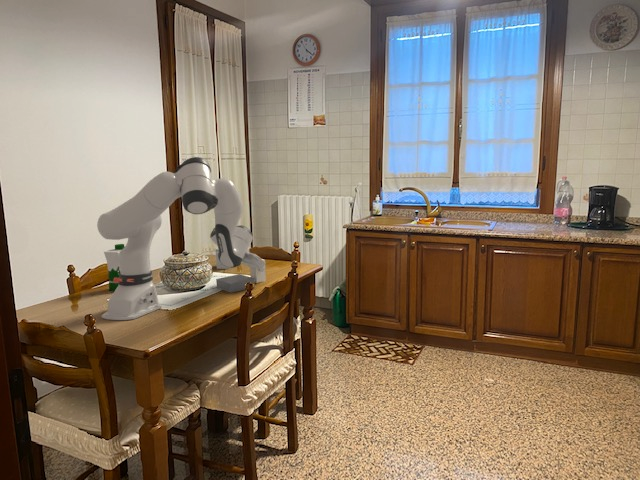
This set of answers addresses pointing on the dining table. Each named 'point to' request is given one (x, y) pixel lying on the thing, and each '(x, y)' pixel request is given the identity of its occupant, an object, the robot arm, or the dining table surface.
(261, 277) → the cream block
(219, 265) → the light bulb box
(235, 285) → the block
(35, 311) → the dining table surface
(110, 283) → the milk carton
